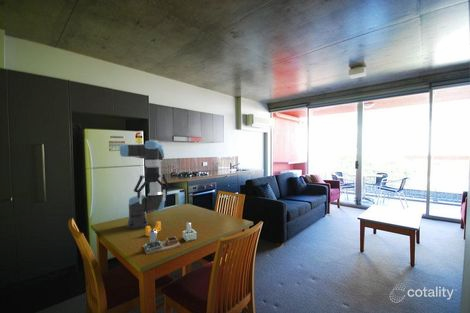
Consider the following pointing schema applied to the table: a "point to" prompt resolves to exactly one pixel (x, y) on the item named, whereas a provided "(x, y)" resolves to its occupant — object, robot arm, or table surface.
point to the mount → (162, 245)
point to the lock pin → (188, 227)
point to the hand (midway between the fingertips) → (152, 201)
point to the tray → (189, 235)
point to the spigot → (153, 238)
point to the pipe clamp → (157, 227)
